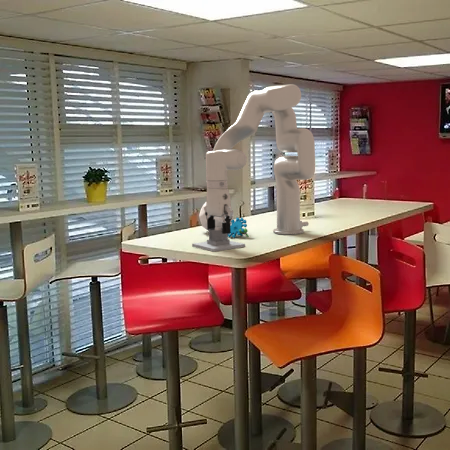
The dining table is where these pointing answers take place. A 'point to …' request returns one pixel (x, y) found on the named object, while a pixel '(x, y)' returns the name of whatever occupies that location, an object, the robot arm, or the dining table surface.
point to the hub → (217, 235)
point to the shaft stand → (218, 244)
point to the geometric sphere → (217, 219)
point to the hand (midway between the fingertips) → (218, 231)
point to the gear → (238, 228)
